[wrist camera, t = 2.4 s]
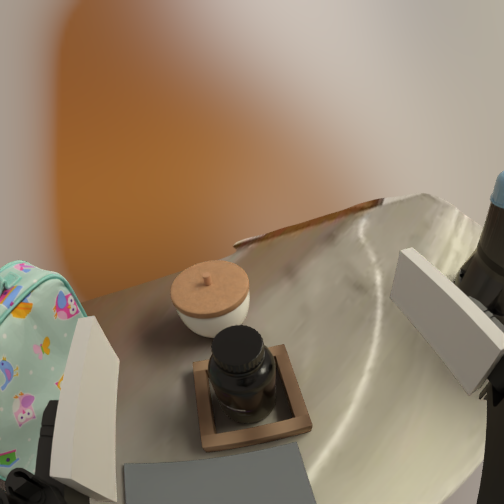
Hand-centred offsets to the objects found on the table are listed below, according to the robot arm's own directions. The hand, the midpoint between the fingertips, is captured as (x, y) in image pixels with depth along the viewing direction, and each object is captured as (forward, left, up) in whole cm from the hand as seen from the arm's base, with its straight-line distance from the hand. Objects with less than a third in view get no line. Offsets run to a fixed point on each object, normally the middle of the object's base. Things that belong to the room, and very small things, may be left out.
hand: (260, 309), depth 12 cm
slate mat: (+7, +5, -25) cm, 27 cm away
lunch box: (+28, -9, -25) cm, 39 cm away
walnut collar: (+1, -9, -25) cm, 26 cm away
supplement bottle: (+1, -9, -25) cm, 27 cm away
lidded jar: (+3, -23, -25) cm, 34 cm away
